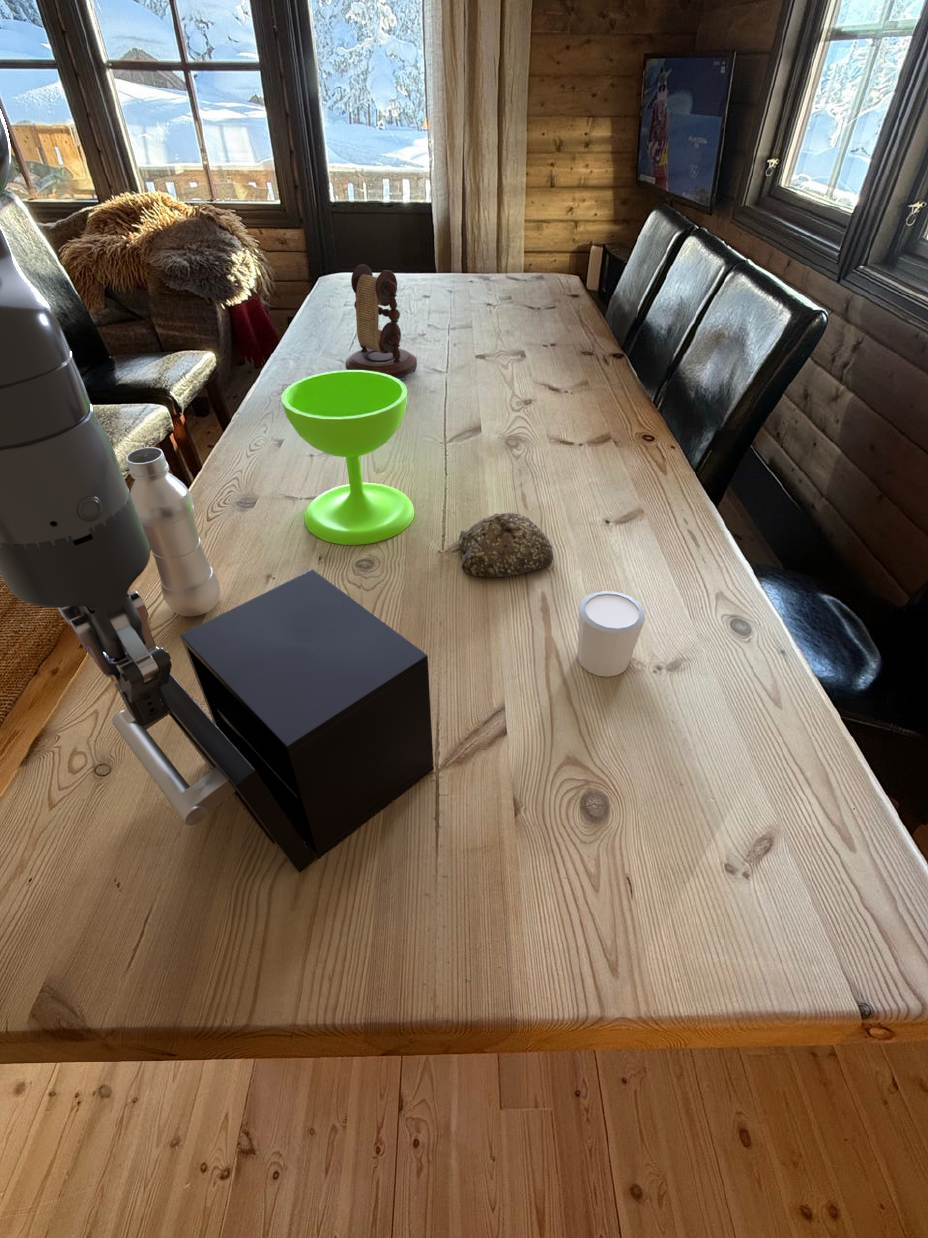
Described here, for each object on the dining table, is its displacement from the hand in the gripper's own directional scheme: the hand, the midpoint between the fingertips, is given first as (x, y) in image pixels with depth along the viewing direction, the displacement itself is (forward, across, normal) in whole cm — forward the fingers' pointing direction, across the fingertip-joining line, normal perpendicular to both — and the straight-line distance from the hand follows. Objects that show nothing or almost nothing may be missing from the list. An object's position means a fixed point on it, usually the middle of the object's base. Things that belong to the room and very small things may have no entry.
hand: (151, 714), depth 46 cm
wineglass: (+16, -33, +41) cm, 55 cm away
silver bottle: (+16, -30, +14) cm, 36 cm away
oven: (+16, 0, +12) cm, 20 cm away
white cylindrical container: (+16, +10, +42) cm, 46 cm away
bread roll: (+16, -12, +49) cm, 53 cm away
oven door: (+16, +1, +3) cm, 16 cm away
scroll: (+15, -74, +78) cm, 108 cm away
